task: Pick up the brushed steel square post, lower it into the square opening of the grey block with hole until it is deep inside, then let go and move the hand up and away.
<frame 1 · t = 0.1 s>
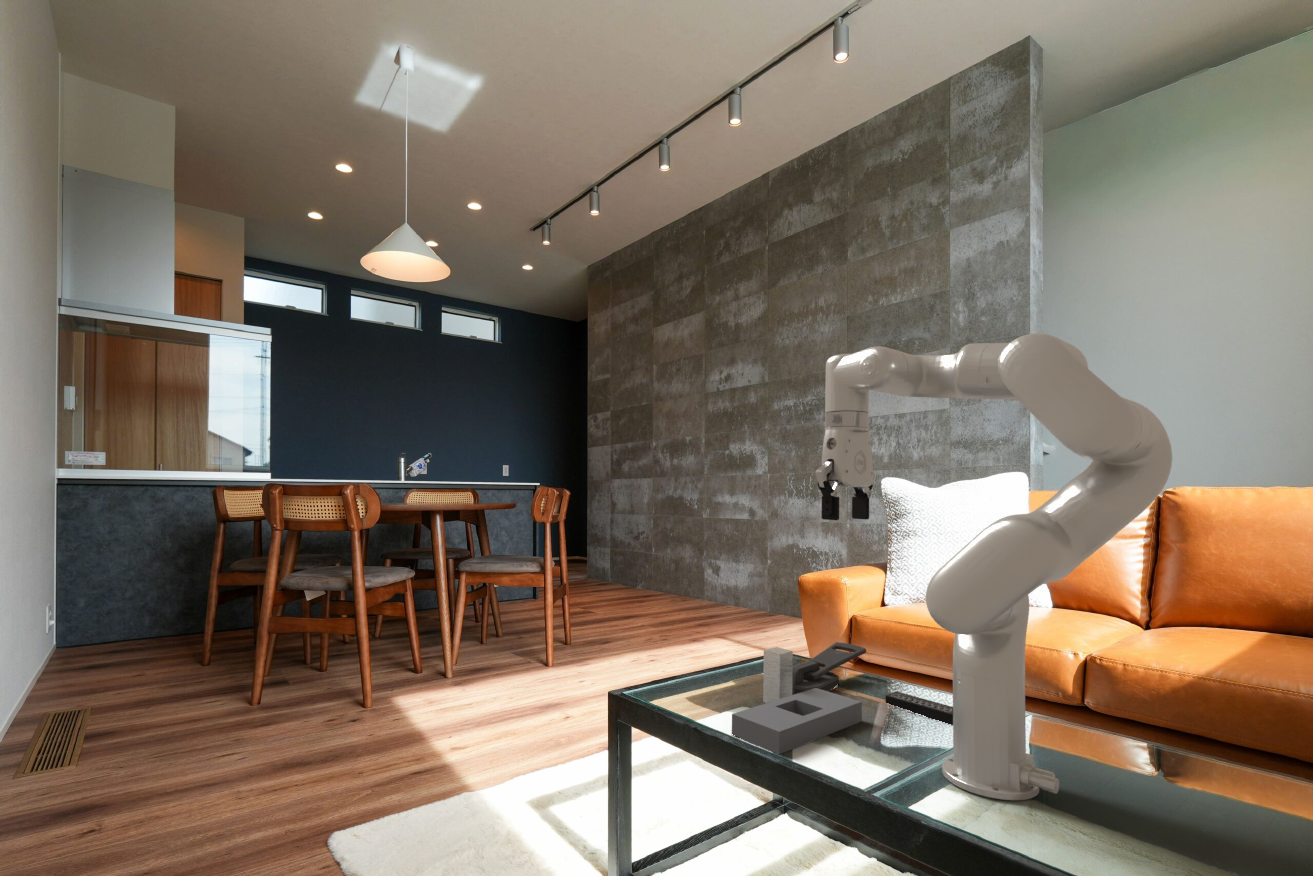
hand: (845, 519, 116), 37 cm above the table, tool pointing down, fingers open, 9 cm apart
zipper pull: (823, 685, 141), on the table
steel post: (777, 702, 128), on the table
multiport hub: (925, 716, 124), on the table
grey block with hole: (799, 728, 114), on the table
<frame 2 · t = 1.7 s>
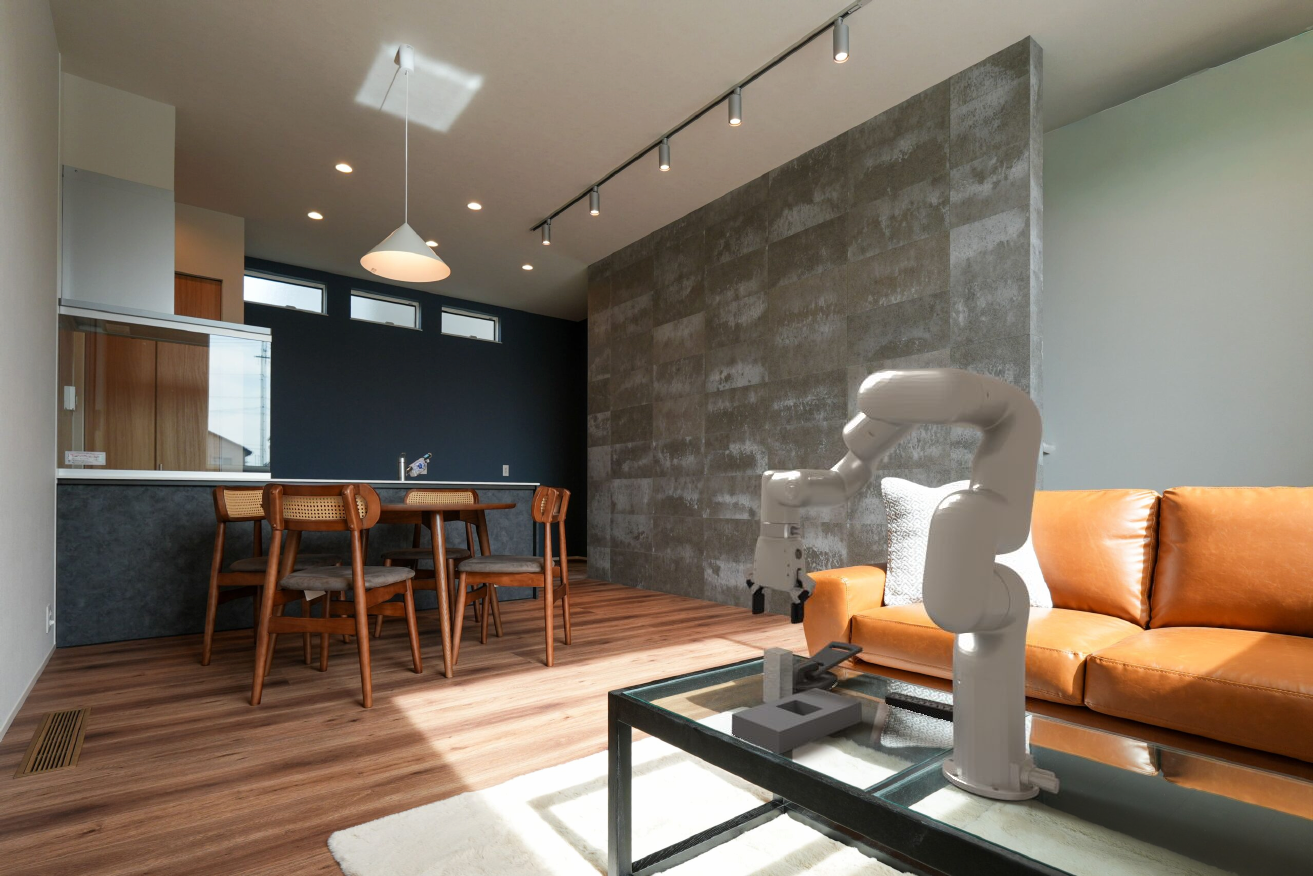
hand: (777, 618, 129), 16 cm above the table, tool pointing down, fingers open, 9 cm apart
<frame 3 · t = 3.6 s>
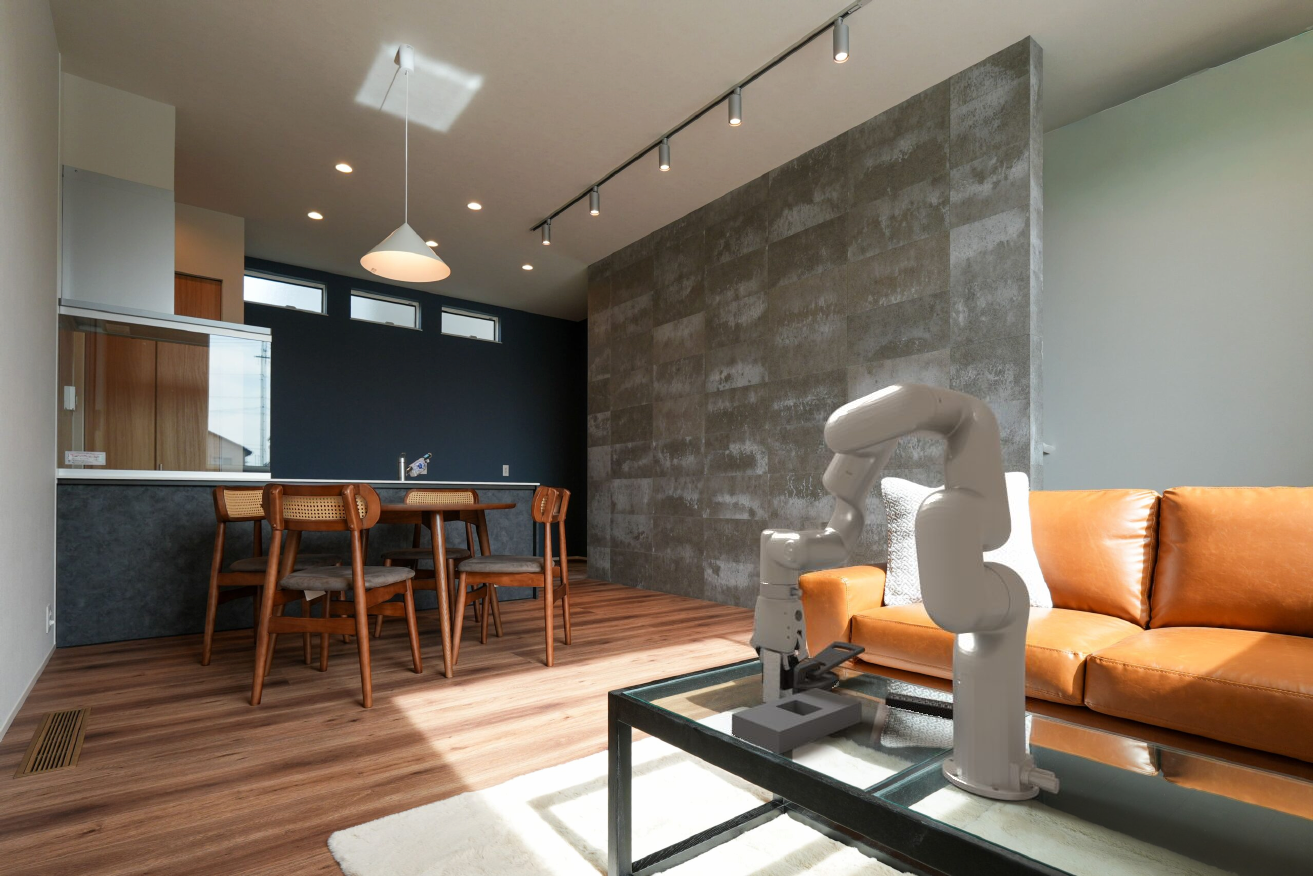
hand: (777, 685, 128), 3 cm above the table, tool pointing down, fingers closed on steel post, 4 cm apart
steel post: (777, 702, 128), on the table, touching gripper
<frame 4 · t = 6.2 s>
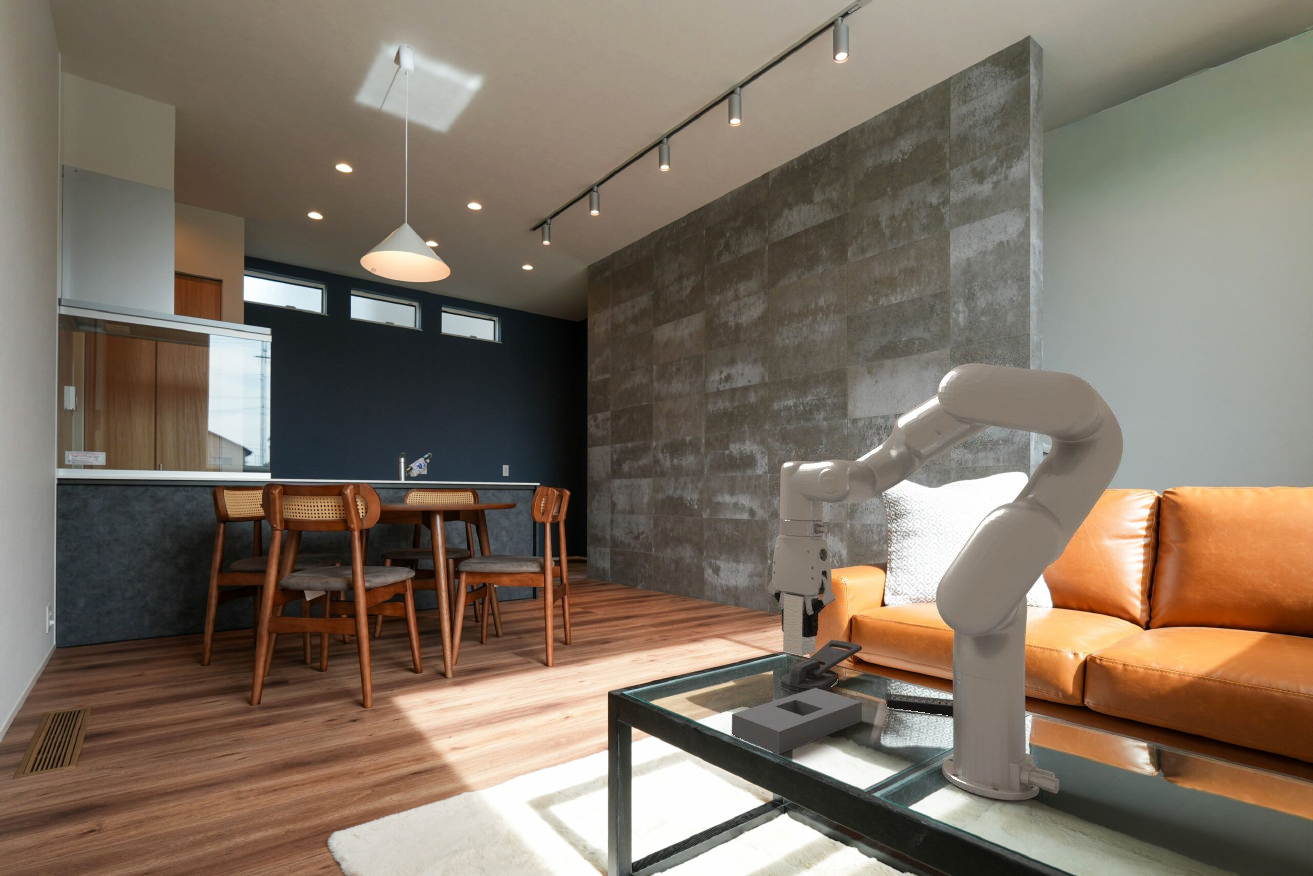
hand: (799, 632, 115), 16 cm above the table, tool pointing down, fingers closed on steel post, 4 cm apart
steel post: (799, 651, 115), point 13 cm above the table, touching gripper
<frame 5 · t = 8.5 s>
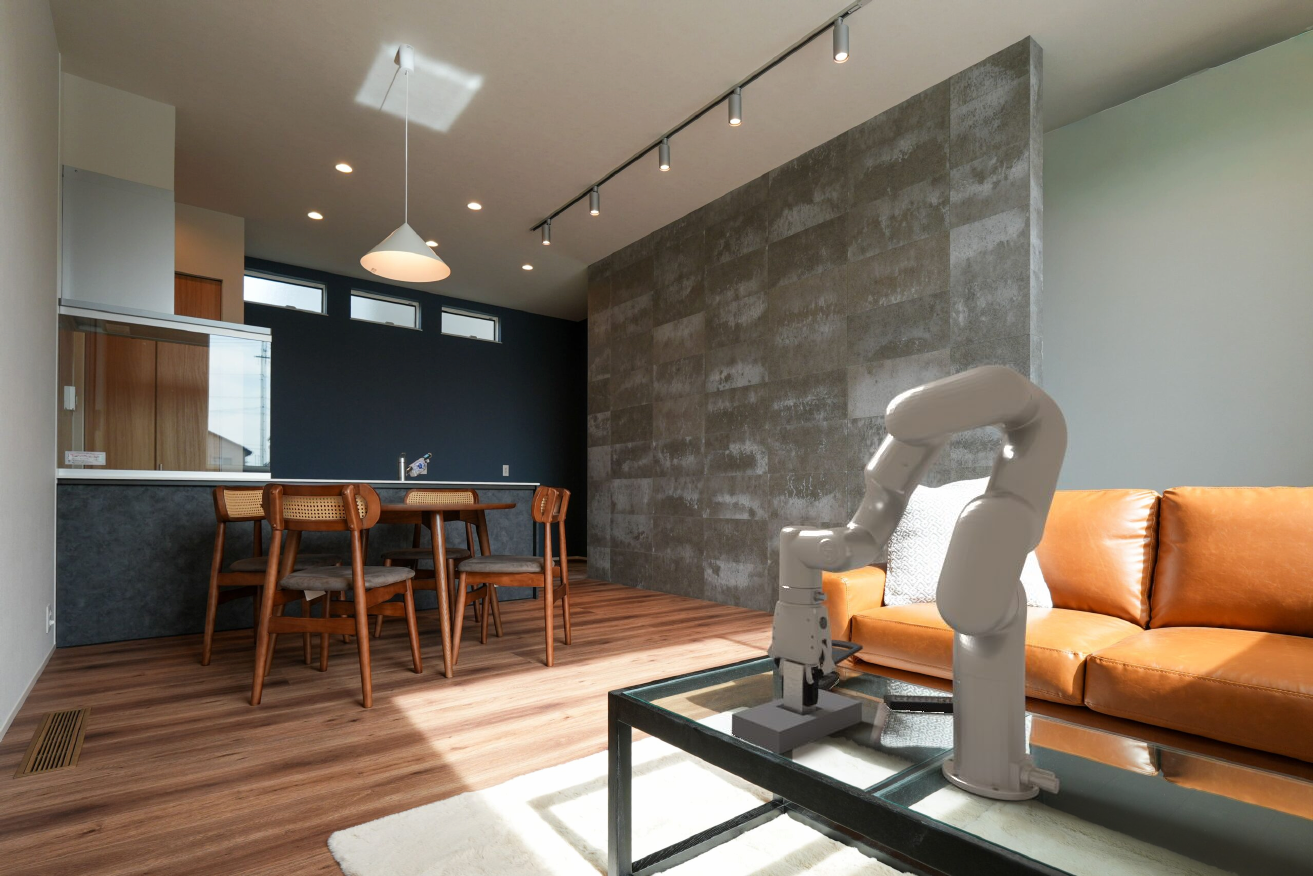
hand: (799, 700, 114), 5 cm above the table, tool pointing down, fingers closed on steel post, 4 cm apart
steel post: (799, 719, 114), point 1 cm above the table, touching gripper
when the fingers open (5 cm above the table, at t = 8.9 s): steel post drops 1 cm, resting in grey block with hole.
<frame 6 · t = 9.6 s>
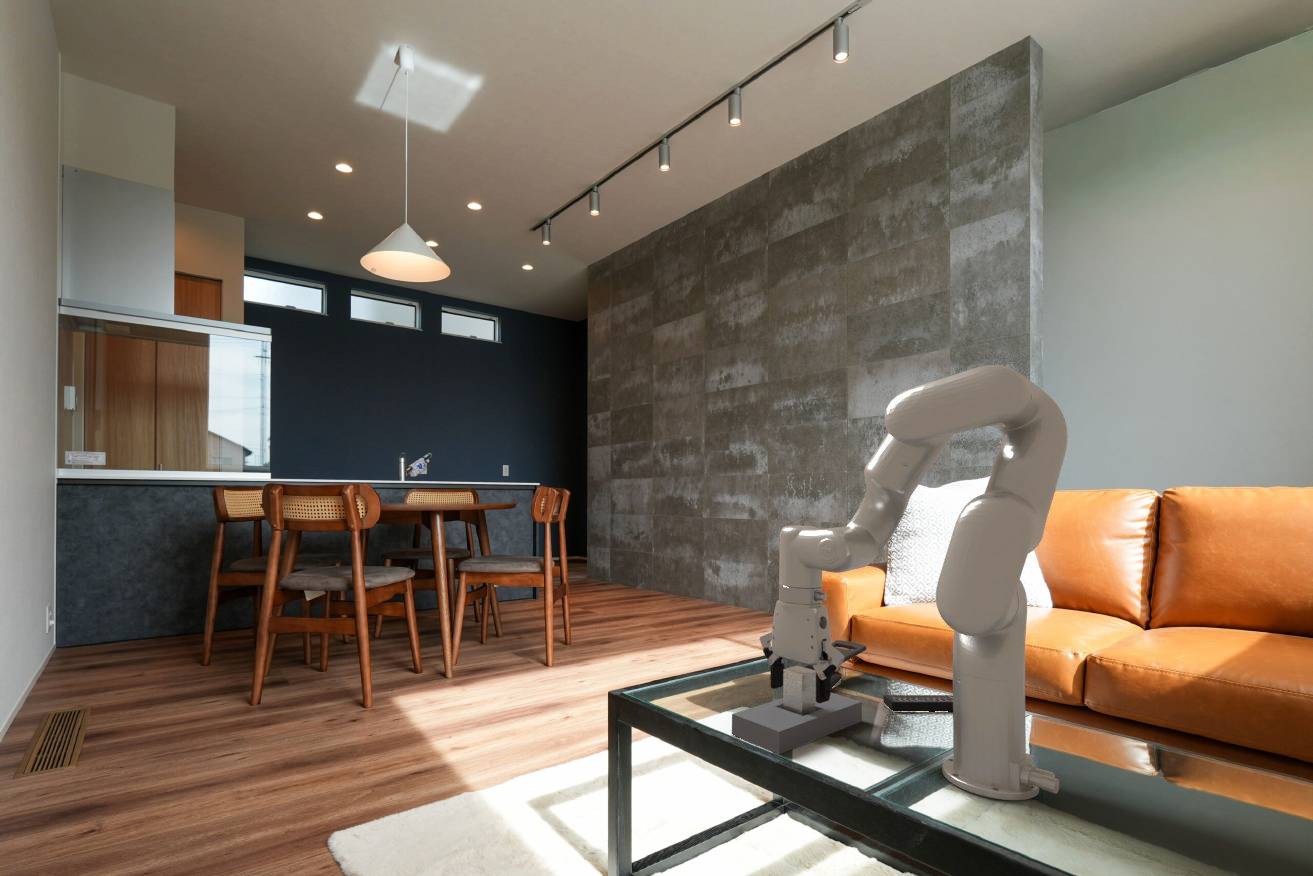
hand: (799, 694, 115), 6 cm above the table, tool pointing down, fingers open, 9 cm apart
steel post: (799, 728, 114), resting in grey block with hole
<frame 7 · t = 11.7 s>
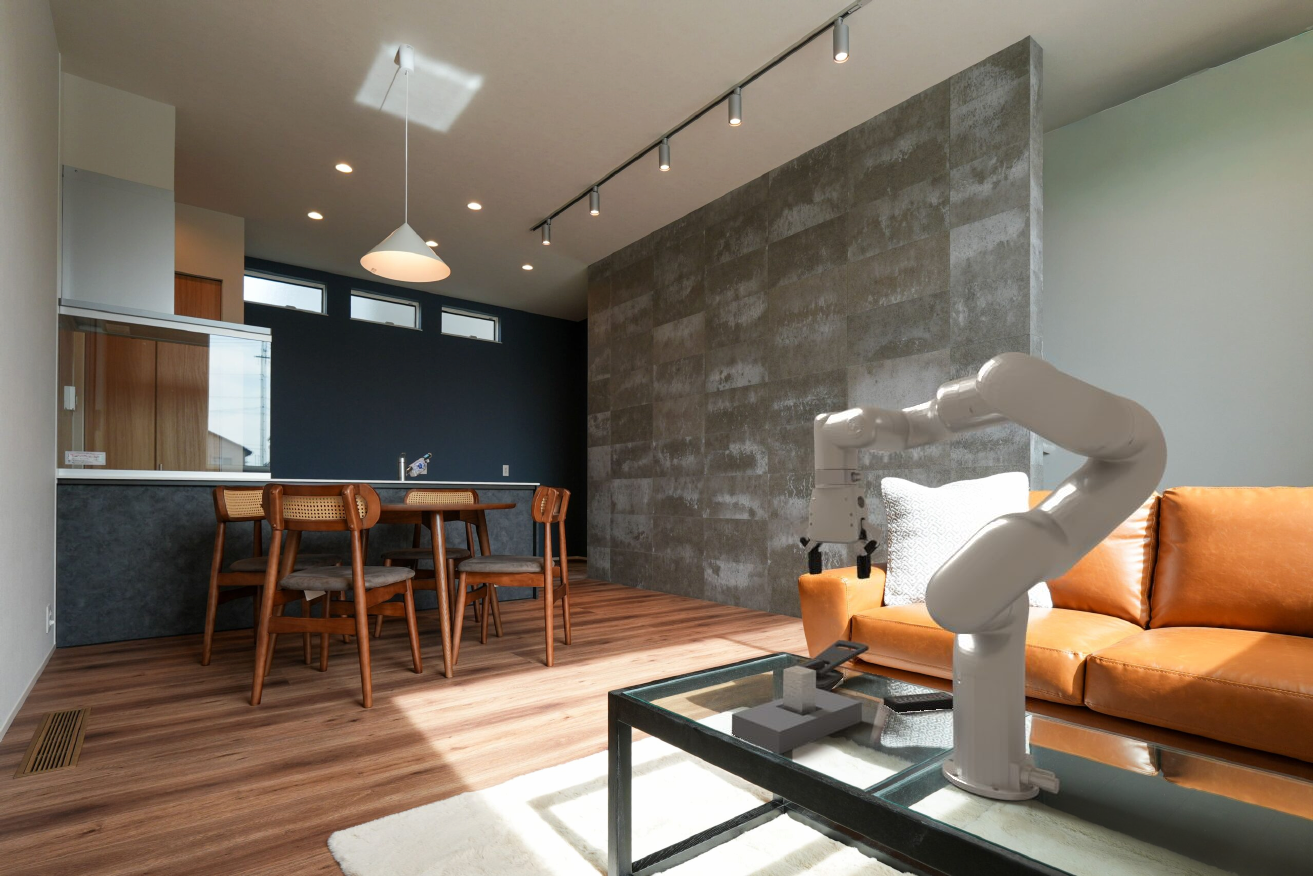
hand: (839, 576, 116), 26 cm above the table, tool pointing down, fingers open, 9 cm apart
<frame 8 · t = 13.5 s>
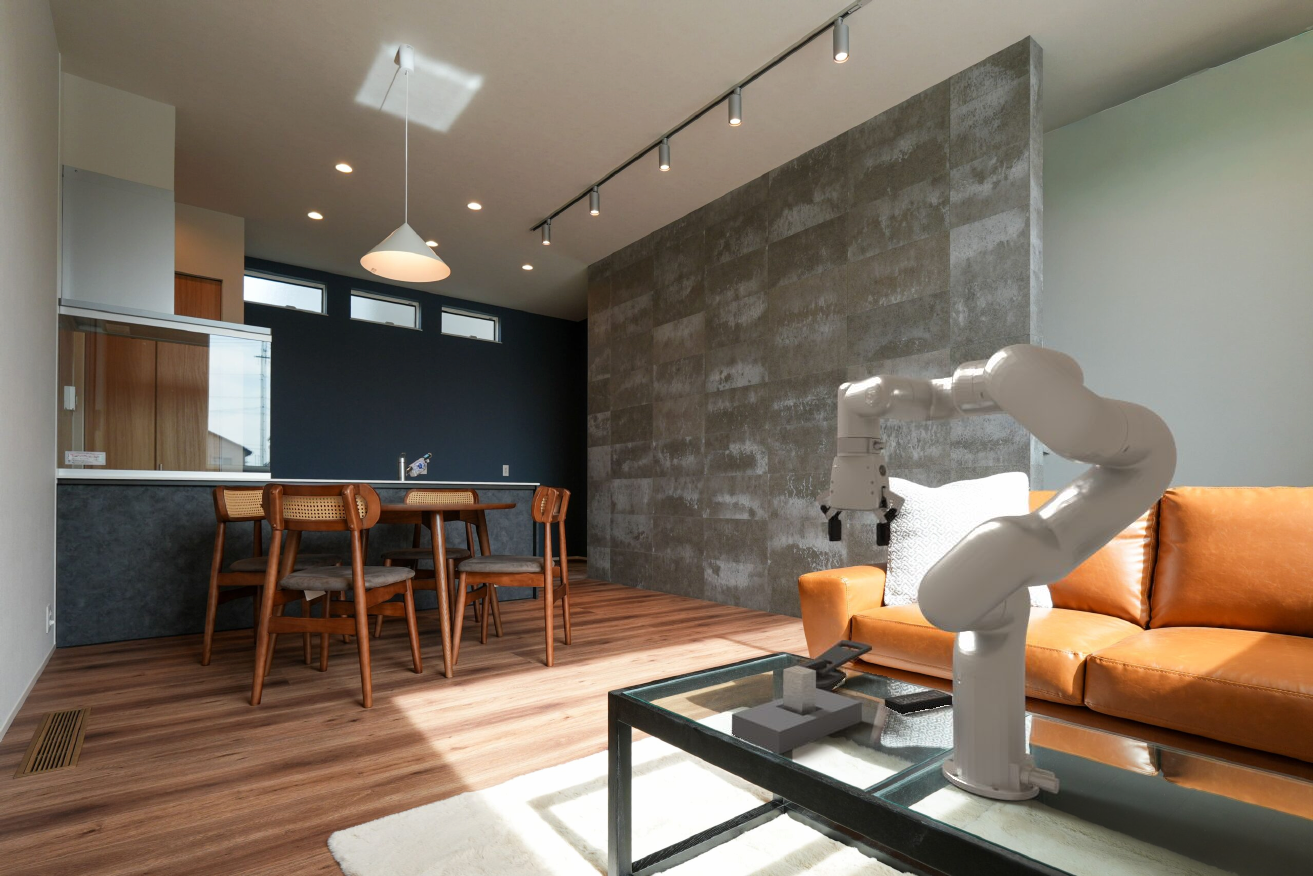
hand: (858, 543, 118), 32 cm above the table, tool pointing down, fingers open, 9 cm apart
at the end: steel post 0.0 cm off-centre on the grey block with hole, point 0.0 cm above the grey block with hole's base; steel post tilted 0°; the gripper is holding nothing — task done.
